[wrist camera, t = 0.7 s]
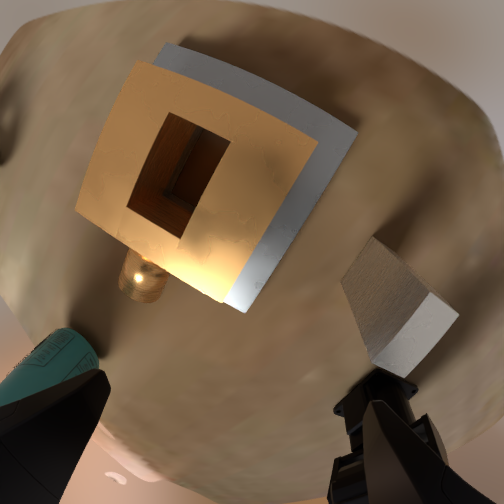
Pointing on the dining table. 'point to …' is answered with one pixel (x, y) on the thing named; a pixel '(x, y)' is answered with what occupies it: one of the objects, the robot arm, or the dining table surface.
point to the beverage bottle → (49, 365)
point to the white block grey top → (394, 309)
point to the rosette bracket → (221, 183)
